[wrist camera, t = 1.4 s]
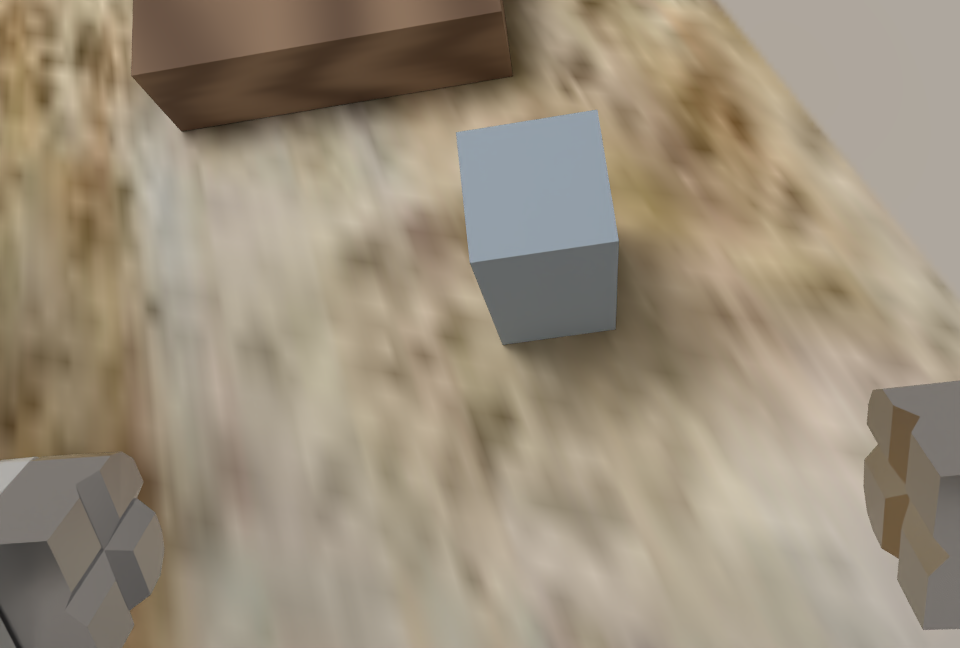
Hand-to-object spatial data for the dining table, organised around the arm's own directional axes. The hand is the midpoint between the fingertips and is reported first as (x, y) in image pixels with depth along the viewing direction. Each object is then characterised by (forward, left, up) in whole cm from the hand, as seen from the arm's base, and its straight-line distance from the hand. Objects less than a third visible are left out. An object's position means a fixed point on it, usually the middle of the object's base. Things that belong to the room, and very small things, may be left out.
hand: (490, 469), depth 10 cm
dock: (-8, +30, -28) cm, 42 cm away
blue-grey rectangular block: (+1, +12, -28) cm, 30 cm away
